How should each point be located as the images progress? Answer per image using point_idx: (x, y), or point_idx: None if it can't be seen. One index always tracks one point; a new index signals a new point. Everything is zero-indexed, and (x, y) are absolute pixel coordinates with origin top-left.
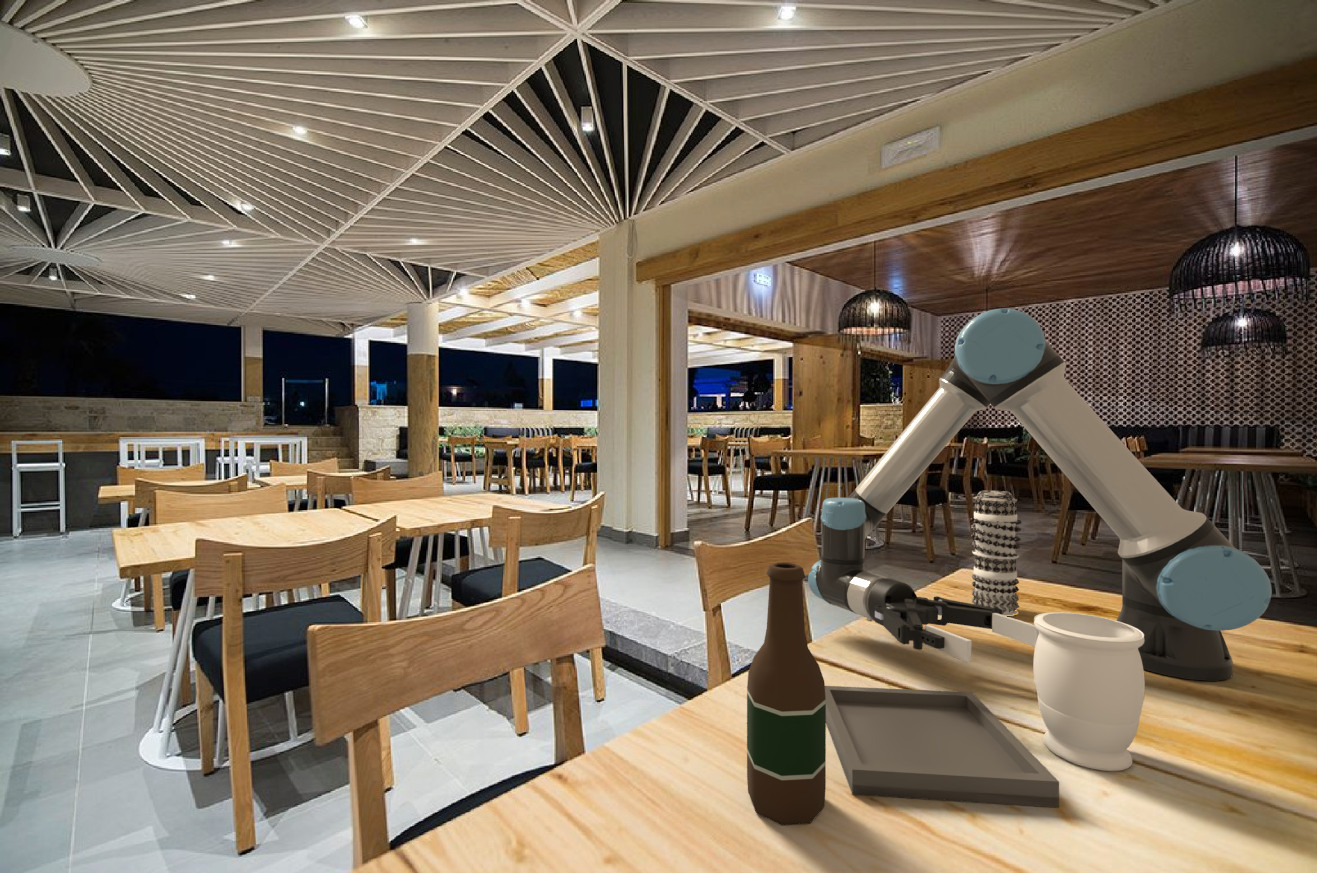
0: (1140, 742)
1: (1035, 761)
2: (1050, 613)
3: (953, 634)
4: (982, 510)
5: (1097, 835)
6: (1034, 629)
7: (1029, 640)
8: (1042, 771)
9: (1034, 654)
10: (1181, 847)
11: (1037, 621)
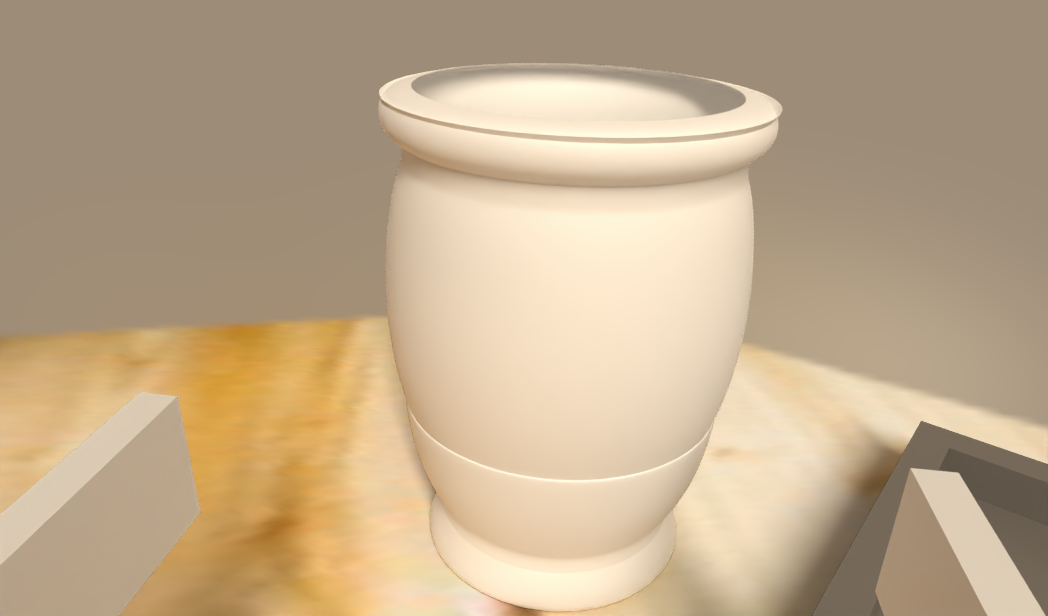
0: (333, 476)
1: (908, 470)
2: (539, 121)
3: (987, 576)
4: None
5: (895, 423)
6: (172, 420)
7: (171, 519)
8: (929, 448)
9: (688, 308)
10: (759, 366)
11: (726, 128)
